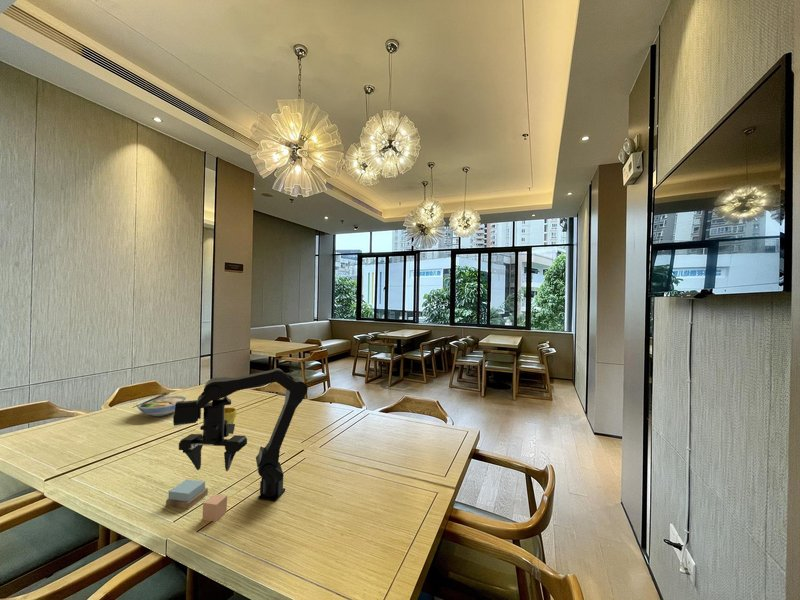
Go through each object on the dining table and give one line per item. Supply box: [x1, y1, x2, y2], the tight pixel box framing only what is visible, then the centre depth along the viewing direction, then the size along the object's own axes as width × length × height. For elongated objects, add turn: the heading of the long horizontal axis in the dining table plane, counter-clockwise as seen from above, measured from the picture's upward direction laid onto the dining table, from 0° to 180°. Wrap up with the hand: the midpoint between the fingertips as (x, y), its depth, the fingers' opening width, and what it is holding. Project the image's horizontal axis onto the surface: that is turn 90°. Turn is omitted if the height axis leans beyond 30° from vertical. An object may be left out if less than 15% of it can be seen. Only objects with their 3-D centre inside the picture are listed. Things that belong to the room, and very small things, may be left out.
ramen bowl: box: [131, 392, 188, 417], centre depth 179 cm, size 25×23×8 cm
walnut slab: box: [165, 487, 209, 510], centre depth 104 cm, size 8×8×2 cm
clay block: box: [202, 493, 228, 522], centre depth 97 cm, size 4×4×5 cm
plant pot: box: [224, 406, 238, 424], centre depth 160 cm, size 10×10×10 cm
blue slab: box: [167, 478, 206, 502], centre depth 104 cm, size 7×7×2 cm
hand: (213, 469), depth 100 cm, fingers open, 9 cm apart
